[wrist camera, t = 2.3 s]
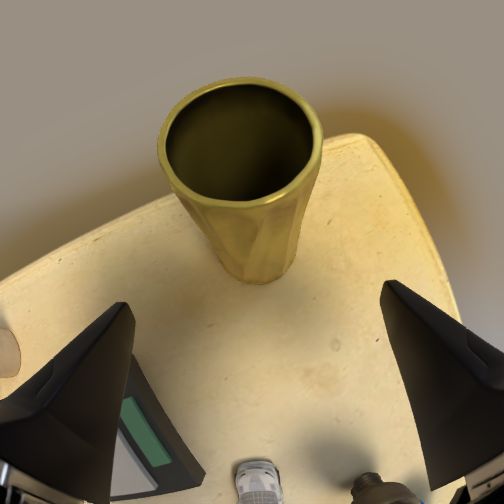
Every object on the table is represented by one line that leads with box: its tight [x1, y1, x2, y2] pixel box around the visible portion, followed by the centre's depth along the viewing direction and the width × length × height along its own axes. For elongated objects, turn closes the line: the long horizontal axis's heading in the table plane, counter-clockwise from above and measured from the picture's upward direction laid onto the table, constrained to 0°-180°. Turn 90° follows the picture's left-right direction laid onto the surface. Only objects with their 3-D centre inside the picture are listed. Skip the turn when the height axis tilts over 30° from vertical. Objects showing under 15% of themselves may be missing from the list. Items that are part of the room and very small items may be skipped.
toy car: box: [235, 461, 283, 504], centre depth 16 cm, size 4×8×3 cm, turn 7°
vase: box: [157, 77, 324, 284], centre depth 15 cm, size 6×6×14 cm
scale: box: [88, 354, 206, 503], centre depth 17 cm, size 12×14×3 cm
